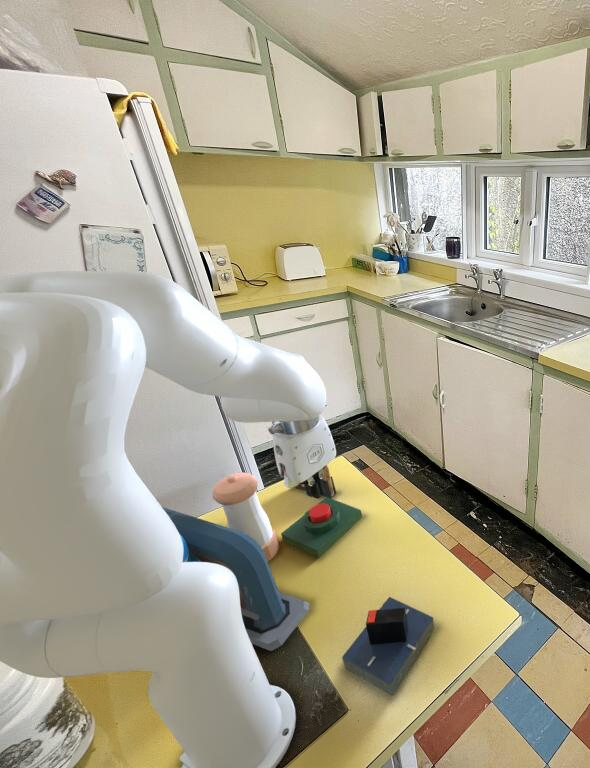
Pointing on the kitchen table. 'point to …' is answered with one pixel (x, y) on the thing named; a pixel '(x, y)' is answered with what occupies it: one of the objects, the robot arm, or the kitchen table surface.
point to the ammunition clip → (327, 483)
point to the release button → (320, 513)
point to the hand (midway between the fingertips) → (316, 494)
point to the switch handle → (387, 626)
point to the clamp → (244, 578)
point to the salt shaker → (246, 510)
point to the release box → (322, 528)
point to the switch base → (389, 651)
